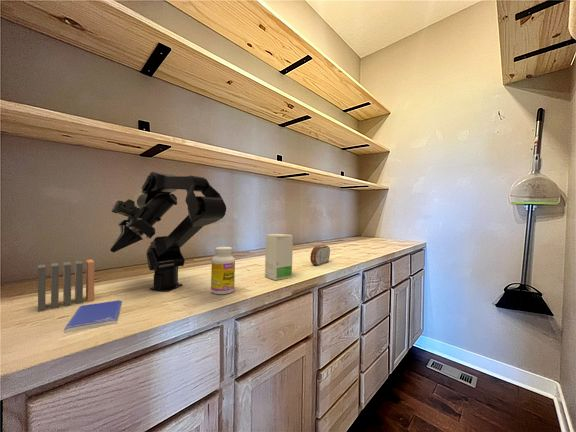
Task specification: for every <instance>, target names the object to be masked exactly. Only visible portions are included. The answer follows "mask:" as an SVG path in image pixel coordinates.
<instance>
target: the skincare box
mask: <svg viewBox="0 0 576 432" xmlns="http://www.w3.org/2000/svg"><path fill="white" fill-rule="evenodd" d="M293 238H294V235H293V234H288V233H287V234H286V233H285V234H284V233H268V234H267V233H266V234H265V254H264V255H265V256H264V257H265V260H264V261H265V262H264V267H265V268H264V277H265V278H267V279H269V280H273V281H278V280H285V279H289V278H290V279H291V278H293Z"/></svg>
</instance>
